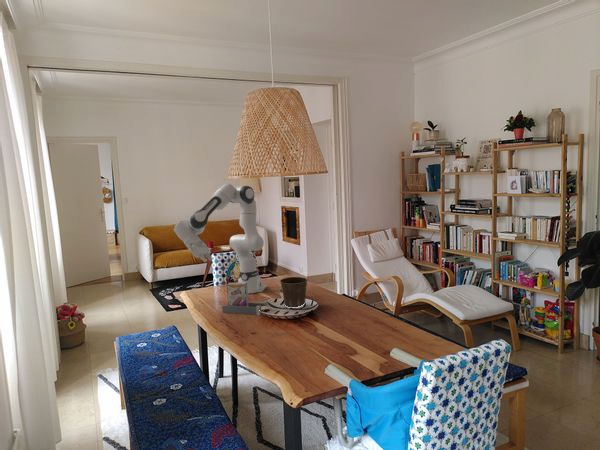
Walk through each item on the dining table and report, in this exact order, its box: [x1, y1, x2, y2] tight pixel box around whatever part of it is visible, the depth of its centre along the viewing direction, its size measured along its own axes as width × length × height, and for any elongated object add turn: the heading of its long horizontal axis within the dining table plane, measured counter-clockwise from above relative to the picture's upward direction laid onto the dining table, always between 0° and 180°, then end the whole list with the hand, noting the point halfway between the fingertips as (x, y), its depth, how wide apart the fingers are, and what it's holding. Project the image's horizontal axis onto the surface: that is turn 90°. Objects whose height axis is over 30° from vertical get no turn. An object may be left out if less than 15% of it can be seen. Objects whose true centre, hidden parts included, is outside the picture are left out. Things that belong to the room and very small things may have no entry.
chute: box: [221, 300, 269, 316], centre depth 260 cm, size 12×24×5 cm, turn 70°
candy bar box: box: [226, 282, 249, 307], centre depth 261 cm, size 11×5×16 cm, turn 84°
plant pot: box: [279, 276, 309, 307], centre depth 264 cm, size 16×16×16 cm
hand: (208, 260), depth 267 cm, fingers open, 8 cm apart
